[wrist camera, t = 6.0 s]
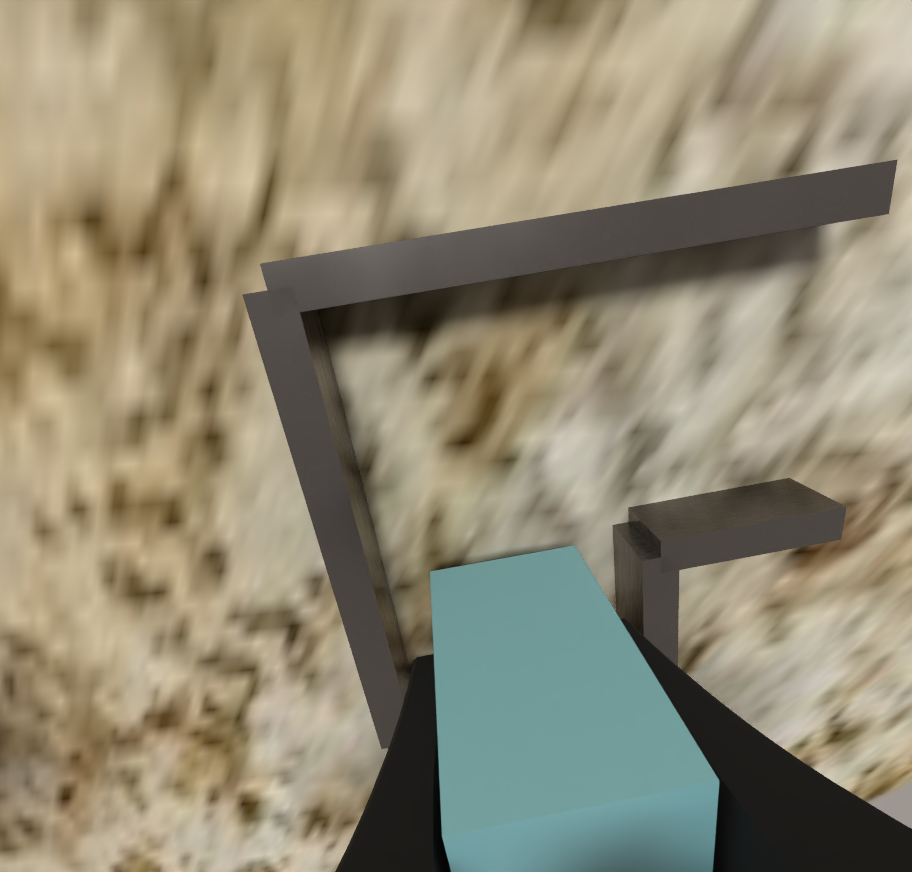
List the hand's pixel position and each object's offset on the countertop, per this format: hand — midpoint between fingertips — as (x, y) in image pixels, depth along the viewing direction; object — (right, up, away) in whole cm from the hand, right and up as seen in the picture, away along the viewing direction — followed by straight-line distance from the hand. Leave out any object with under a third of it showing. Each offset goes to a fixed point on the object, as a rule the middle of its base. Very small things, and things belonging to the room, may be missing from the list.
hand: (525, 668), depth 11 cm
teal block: (0, +1, +2) cm, 2 cm away
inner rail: (+6, +2, +3) cm, 7 cm away
